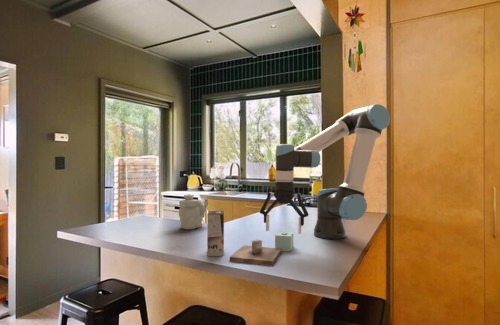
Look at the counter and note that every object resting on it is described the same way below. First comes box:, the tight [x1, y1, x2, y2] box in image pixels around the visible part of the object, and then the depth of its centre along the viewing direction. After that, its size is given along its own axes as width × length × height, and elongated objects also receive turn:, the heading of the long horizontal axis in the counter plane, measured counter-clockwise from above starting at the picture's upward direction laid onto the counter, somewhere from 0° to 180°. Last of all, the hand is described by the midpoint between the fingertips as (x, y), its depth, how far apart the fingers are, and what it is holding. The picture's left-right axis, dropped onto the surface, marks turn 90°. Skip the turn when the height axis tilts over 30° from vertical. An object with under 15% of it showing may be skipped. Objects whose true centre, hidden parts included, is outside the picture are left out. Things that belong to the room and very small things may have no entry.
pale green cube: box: [274, 231, 294, 252], centre depth 125 cm, size 6×6×6 cm
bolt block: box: [229, 239, 283, 267], centre depth 114 cm, size 16×16×6 cm
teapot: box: [178, 193, 209, 230], centre depth 167 cm, size 16×15×19 cm
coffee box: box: [206, 210, 225, 257], centre depth 119 cm, size 9×6×16 cm
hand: (283, 232), depth 125 cm, fingers open, 13 cm apart
